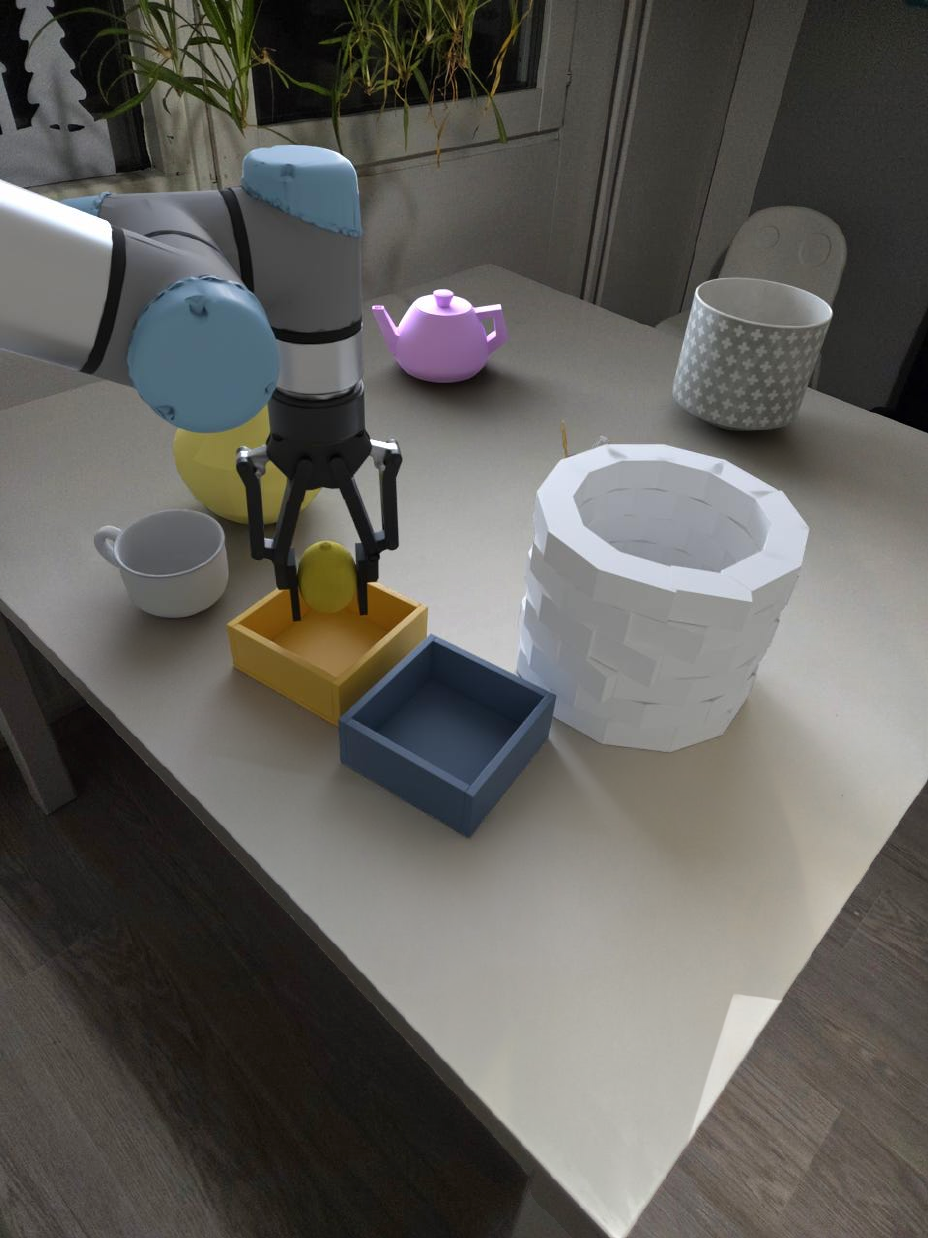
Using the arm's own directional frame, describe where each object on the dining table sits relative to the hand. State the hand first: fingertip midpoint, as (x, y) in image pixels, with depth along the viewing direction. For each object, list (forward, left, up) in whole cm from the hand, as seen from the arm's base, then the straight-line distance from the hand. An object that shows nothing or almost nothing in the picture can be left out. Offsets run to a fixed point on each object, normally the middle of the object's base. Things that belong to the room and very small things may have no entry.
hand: (329, 608), depth 78 cm
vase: (-25, +16, -7) cm, 30 cm away
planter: (+14, +78, -7) cm, 79 cm away
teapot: (-31, +64, -7) cm, 71 cm away
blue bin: (+16, -3, -6) cm, 17 cm away
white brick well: (+25, +17, -7) cm, 31 cm away
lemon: (0, 0, -1) cm, 1 cm away
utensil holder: (+7, +39, -7) cm, 40 cm away
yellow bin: (0, 0, -6) cm, 6 cm away
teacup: (-20, -3, -7) cm, 21 cm away
